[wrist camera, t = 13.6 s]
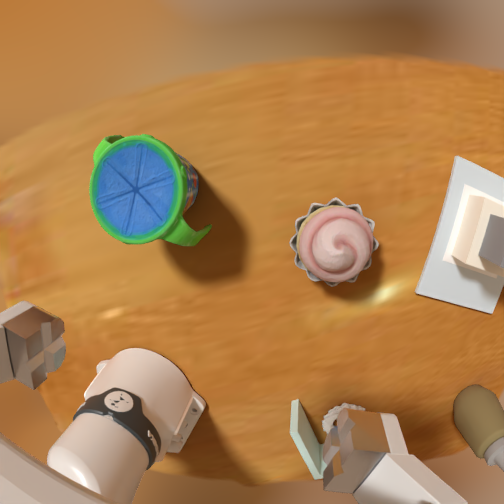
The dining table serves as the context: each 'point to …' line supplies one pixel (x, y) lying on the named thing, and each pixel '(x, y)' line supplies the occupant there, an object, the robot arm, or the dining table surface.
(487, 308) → the light grey flat slab
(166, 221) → the snack cup
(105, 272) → the dining table surface
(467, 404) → the squeeze bottle
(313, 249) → the cupcake
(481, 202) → the cream base block
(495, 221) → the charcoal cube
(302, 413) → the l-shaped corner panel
